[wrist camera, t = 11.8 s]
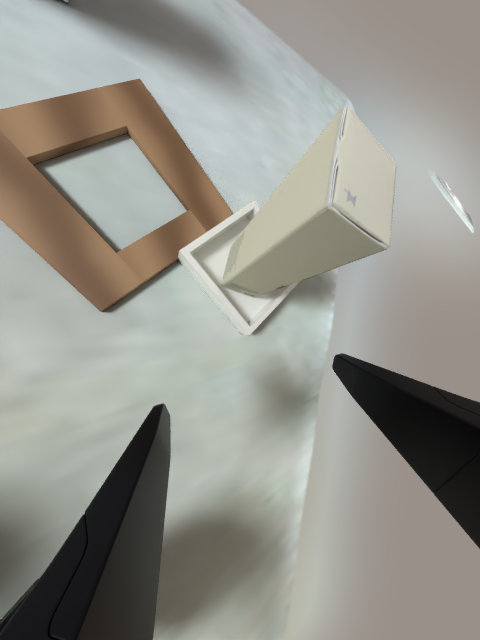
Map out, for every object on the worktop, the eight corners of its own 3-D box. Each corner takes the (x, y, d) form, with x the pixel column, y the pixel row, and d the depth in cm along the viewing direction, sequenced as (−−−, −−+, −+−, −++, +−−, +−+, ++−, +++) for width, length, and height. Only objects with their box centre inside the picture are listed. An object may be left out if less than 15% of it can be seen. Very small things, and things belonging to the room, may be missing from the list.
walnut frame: (103, 312, 14) (100, 311, 14) (-83, 140, 11) (-96, 130, 10) (234, 221, 19) (236, 218, 19) (140, 87, 16) (139, 78, 15)
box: (254, 299, 19) (393, 258, 8) (218, 285, 18) (328, 208, 6) (263, 257, 20) (403, 162, 9) (230, 240, 18) (348, 93, 7)
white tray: (241, 334, 19) (249, 335, 17) (177, 259, 17) (179, 250, 15) (292, 281, 23) (304, 277, 21) (245, 212, 20) (254, 200, 18)
